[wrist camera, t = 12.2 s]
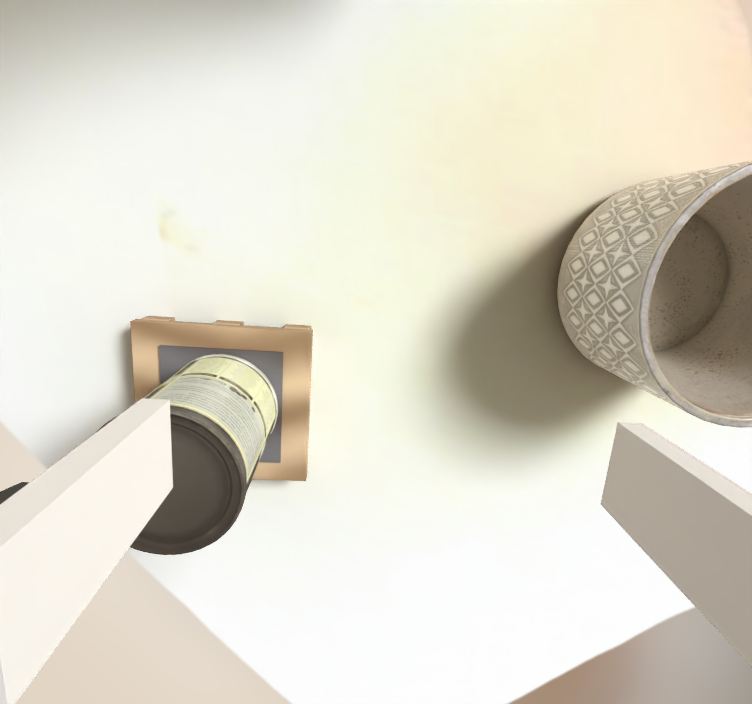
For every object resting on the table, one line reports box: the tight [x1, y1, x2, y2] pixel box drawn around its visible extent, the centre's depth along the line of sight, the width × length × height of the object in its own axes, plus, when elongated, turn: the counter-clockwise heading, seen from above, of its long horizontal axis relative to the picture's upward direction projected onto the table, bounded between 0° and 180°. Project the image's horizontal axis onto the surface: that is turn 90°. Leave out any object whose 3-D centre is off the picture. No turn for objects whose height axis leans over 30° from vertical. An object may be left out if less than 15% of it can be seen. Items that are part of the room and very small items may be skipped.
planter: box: [557, 161, 752, 427], centre depth 38 cm, size 19×19×14 cm
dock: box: [130, 316, 313, 481], centre depth 44 cm, size 15×16×3 cm
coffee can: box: [97, 354, 278, 555], centre depth 36 cm, size 10×10×14 cm
